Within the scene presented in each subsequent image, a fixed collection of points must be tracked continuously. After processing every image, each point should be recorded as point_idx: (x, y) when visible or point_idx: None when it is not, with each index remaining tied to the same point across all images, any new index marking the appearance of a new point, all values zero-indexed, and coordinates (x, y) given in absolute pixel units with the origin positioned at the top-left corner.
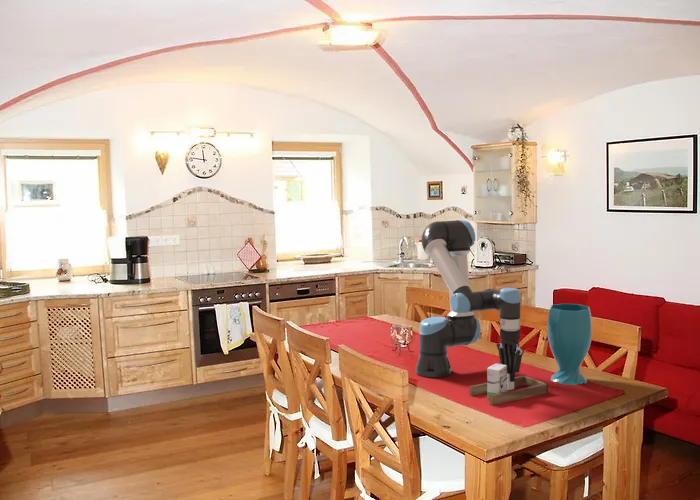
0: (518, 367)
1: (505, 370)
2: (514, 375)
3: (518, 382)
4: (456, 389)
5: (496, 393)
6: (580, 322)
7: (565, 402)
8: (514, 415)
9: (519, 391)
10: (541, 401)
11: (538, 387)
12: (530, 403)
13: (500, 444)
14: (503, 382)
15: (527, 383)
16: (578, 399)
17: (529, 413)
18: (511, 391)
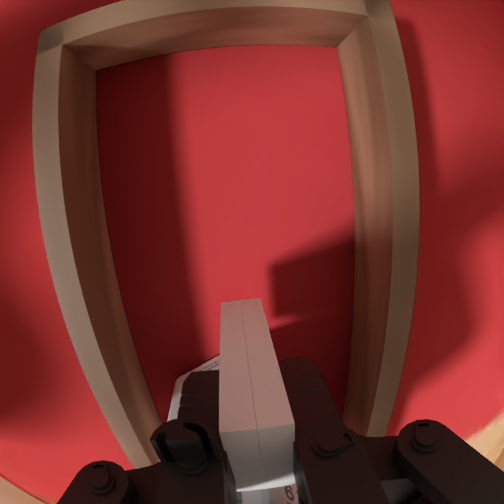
0: (486, 488)
1: None
2: (335, 413)
3: (81, 122)
4: None
5: None
6: None
7: (500, 96)
8: (468, 409)
9: (402, 341)
10: (460, 198)
11: (406, 111)
12: (449, 285)
13: (497, 458)
14: None
15: (129, 50)
16: (477, 13)
17: (496, 353)
18: (385, 405)
